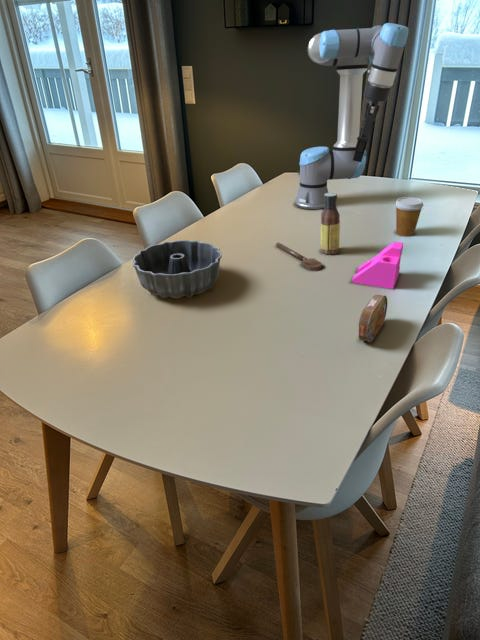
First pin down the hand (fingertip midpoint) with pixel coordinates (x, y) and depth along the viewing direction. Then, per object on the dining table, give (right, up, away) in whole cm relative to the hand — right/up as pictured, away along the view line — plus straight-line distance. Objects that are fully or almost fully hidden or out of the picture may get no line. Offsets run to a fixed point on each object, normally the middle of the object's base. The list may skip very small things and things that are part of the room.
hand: (358, 154), depth 154 cm
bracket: (+2, -42, -12) cm, 44 cm away
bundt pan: (-57, -44, -10) cm, 73 cm away
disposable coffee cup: (+22, -23, +18) cm, 36 cm away
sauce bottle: (-8, -31, +6) cm, 33 cm away
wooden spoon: (-20, -34, +3) cm, 39 cm away
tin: (-6, -58, -37) cm, 69 cm away
